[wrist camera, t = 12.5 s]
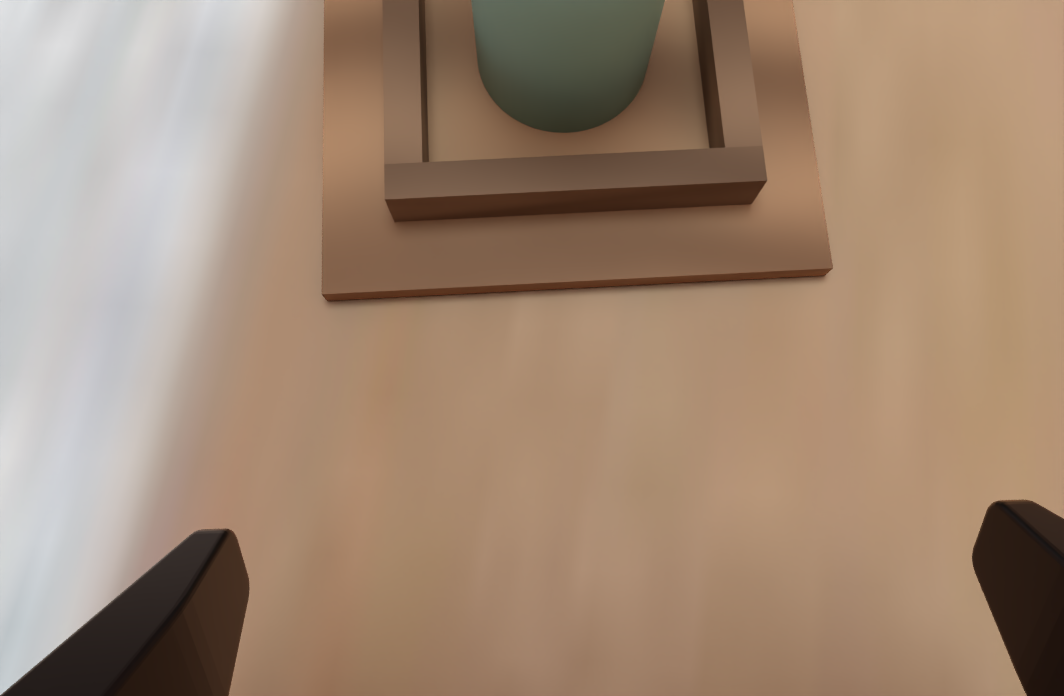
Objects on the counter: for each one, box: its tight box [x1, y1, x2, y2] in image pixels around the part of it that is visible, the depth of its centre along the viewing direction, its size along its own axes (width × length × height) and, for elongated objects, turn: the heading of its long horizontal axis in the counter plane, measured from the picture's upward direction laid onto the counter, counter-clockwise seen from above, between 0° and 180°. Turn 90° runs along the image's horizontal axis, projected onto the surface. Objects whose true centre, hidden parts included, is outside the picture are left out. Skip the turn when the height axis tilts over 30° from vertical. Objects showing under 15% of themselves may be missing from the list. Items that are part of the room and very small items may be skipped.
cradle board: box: [322, 0, 833, 301], centre depth 23 cm, size 14×14×2 cm
